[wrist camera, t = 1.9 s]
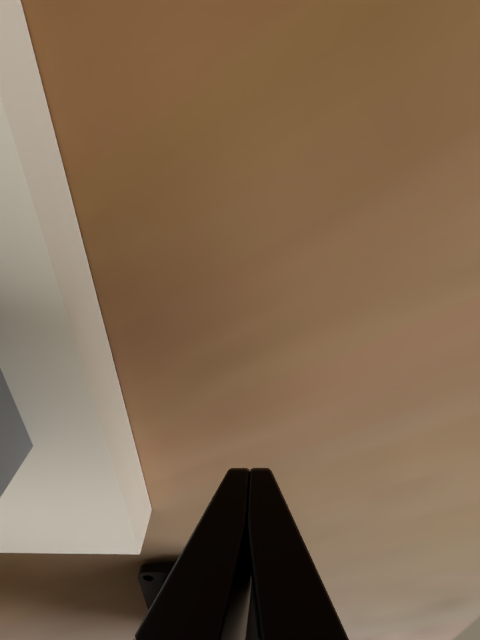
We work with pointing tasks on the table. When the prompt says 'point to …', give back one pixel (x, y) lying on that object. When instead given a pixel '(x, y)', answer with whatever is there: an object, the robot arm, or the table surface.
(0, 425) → the slate tile
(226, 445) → the table surface
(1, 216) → the cream block
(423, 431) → the table surface
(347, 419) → the table surface
